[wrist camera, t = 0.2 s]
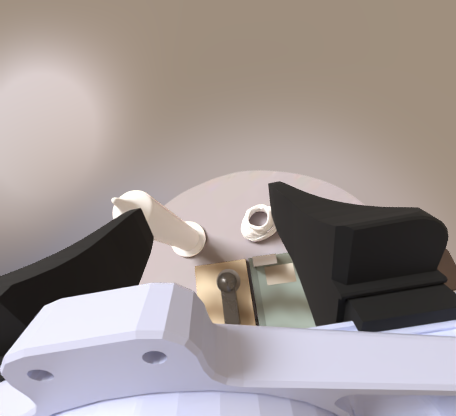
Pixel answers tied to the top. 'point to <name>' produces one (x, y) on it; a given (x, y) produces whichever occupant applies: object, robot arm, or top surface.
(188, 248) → the candle
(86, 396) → the robot arm
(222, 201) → the top surface
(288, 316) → the door and jamb
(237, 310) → the bar
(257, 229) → the white curved piece
